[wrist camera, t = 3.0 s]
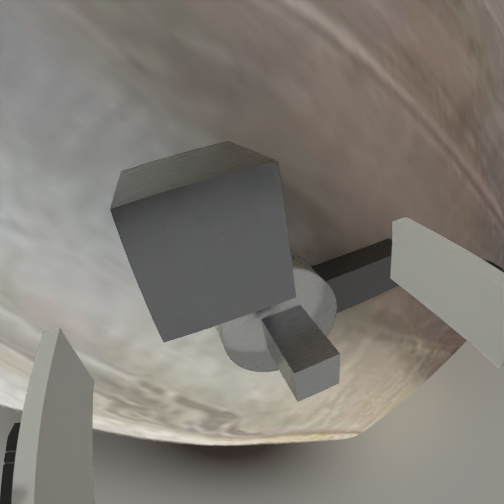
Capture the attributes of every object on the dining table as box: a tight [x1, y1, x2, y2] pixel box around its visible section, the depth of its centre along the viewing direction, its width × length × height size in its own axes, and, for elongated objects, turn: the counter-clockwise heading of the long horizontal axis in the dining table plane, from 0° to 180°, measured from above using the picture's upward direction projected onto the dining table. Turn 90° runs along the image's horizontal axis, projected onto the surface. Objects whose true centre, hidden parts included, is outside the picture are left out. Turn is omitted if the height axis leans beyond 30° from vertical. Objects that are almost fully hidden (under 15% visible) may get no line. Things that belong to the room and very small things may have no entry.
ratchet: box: [216, 239, 398, 401], centre depth 24 cm, size 19×9×10 cm, turn 102°
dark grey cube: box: [110, 141, 296, 342], centre depth 17 cm, size 7×7×8 cm
